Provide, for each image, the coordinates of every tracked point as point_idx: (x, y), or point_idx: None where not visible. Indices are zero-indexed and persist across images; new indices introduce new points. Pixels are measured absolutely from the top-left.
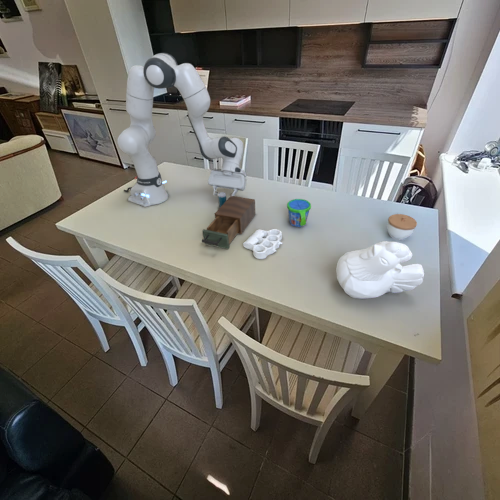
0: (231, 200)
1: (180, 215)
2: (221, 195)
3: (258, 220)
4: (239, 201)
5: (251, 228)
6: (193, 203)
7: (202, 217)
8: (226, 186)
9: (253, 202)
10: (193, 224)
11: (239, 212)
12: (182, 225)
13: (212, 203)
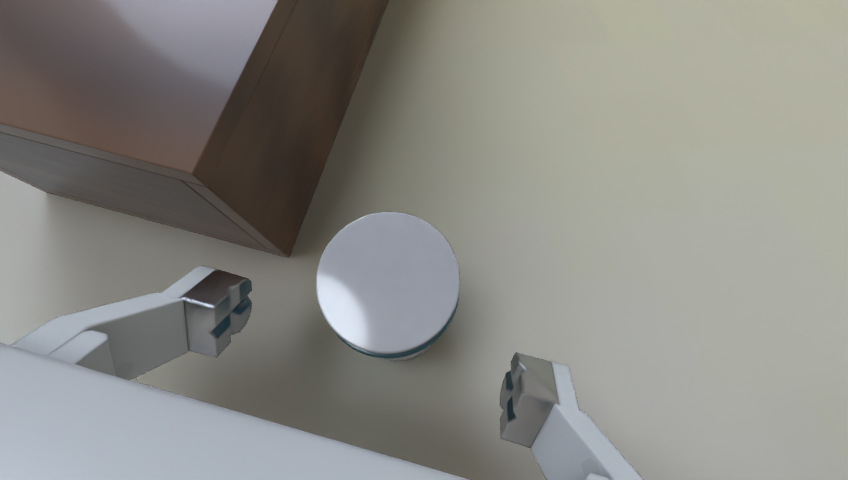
0: (184, 28)
1: (784, 154)
2: (384, 217)
3: None
4: (54, 4)
5: None
6: (787, 400)
7: (564, 131)
8: (257, 418)
9: None
10: (600, 37)
11: None
12: (681, 24)
13: None
